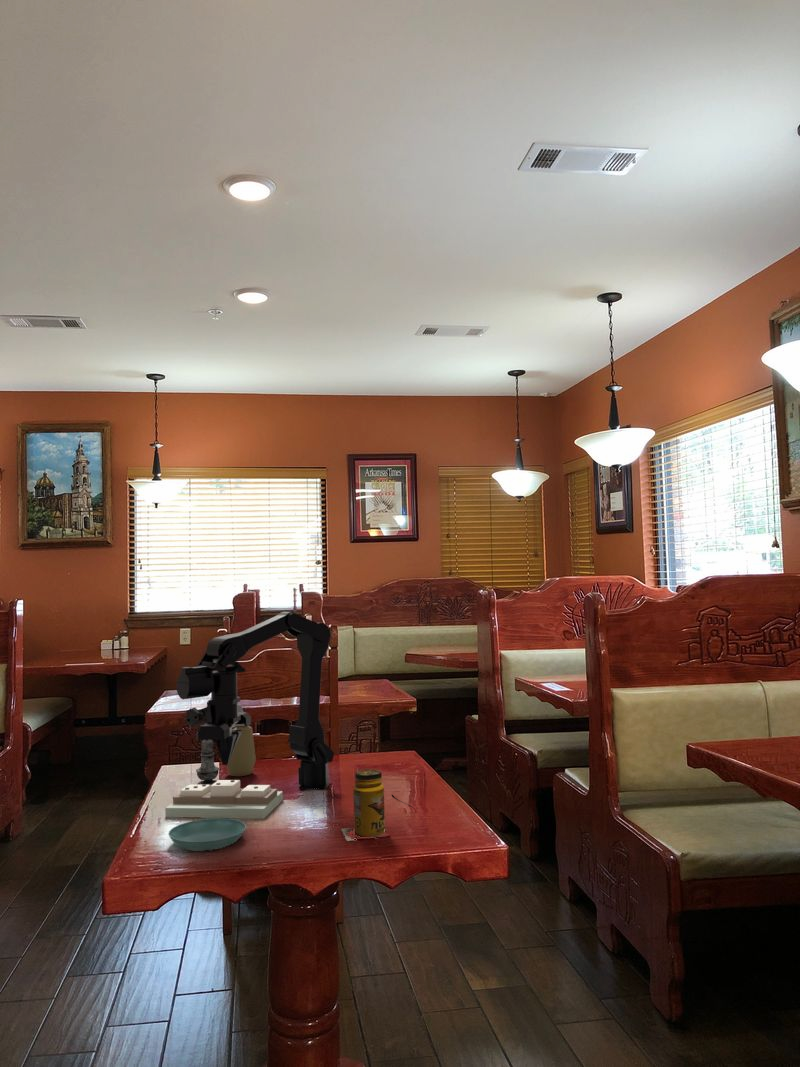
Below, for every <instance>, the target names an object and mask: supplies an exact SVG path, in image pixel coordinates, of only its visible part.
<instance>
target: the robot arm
mask: <svg viewBox="0 0 800 1067" xmlns="http://www.w3.org/2000/svg"><path fill="white" fill-rule="evenodd" d="M285 632H287V633H288V634H289V635H291V636H292V637H294V638H296V647H297V650H298V652H299V654H300V657H301V671H300V672H301V673H300V687H299V688H300V689H299V690H300V691H299V704H298V707H299V708H298V718H297V720H296V722H295V724H294V725H293V724H290V725H289V726H288V727H289V728H288V732H289V733H288V734H289V736H288V740H287V743H289V748H290V749H291V751H292V752H293V754H294V757H295V758H296V760H297V761H300V765H299V767H298V768H297V769H298V773H297V774H298V785H299V786H298V789H299V790H326V789H327V788H328V786H330V784H331V783H332V782H331V780H329V779H330V777H329V774H330V773H329V772H330V771H329V763H331V762H333V761H334V755H335V752H334V751H333V750H332V749H331V748H330V747H329V746H328V744H326V742H325V741H326V740H325V731H324V729H323V726H322V724H321V723H322V722H321V721H320V705H321V704H320V702H321V701H320V700H321V687H322V683H321V682H322V668H323V667H322V666H323V658H324V656H325V655H326V653H327V652H328V650H329V646H330V643H331V642H330V641H331V636H332V633H331V629H330V628H329V626H328V625H327V624H326V623H324V622H316V621H314V620H312V619H308V618H306V617H304V616H302V615H299V614H297V613H296V612H293V611H282V612H280V613H279V614H277V615H274V616H273V617H270V618H269V619H266V620H264V621H261V622H260V623H258V624H255V625H254V626H251V627H250V628H246V629H245V630H243V631H239V632H236V633H230V634H229V633H228V634H225V635H221V636H216V637H213V638H211V640H209V641H208V644H207V646H206V651H205V652H204V653H203V656H202V657H201V659H200V661H199V662H198V663H197V665H196V666H192V667H191V666H190V667H189V666H188V667H187V666H184V667H183V666H182V667H181V668H180V670H181V671H180V673H179V675H178V677H177V681H176V684H175V686H176V693H177V695H178V697H179V698H180V700H190V699H197V698H204V697H208V696H210V697H211V698H210V699H208V700H207V702H206V707H203V708H200V709H198V708H196V707H192V708H189V709H187V710H186V711H185V715H184V719H183V720H184V723H185V724H188V726H189V729H193V728H195V727H197V726H199V725H200V726H199V727H198V728H197V729H196V731H195V732H196V740H198V741H199V740H200V741H203V740H212V741H213V743H215V745H216V748H217V751H218V754H219V758H220V760H221V763H222V765H223V766H226V765H228V764H229V761H230V759H231V756H232V754H233V751H234V749H235V747H236V744H237V742H238V740H239V737H240V735H241V733H242V731H243V730H237V727H235V725H236V724H244V725H245V726H250V725H252V716H251V715H250V713H249V712H248V711H247V712H246V711H245V712H244V711H243V712H238V705H239V704H238V703H240V702H241V696H238V673H243V672H244V673H245V672H246V671H247V670H246V668H245V667H244V666H242V665H241V664H240V661H239V660H241V659H242V658H243V657H245V656H246V655H247V653H249V651H250V650H251V649H253V648H254V647H256V646H258V645H260V644H263V643H265V642H266V641H268V640H271V639H272V638H274V637H276V636H279V635H280V634H282V633H285ZM203 723H205V724H203ZM201 724H202V725H201Z"/></svg>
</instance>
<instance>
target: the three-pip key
mask: <svg viewBox="0 0 800 1067" xmlns="http://www.w3.org/2000/svg"><path fill="white" fill-rule="evenodd" d="M210 791H211V785H205V784H204V785H197V784H188V785H186V786H185V787H184V788H182V789H180V792H179V793H180V796H204V795H206V794H207V793H209V792H210Z"/></svg>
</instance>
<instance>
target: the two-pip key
mask: <svg viewBox="0 0 800 1067" xmlns="http://www.w3.org/2000/svg"><path fill="white" fill-rule="evenodd" d="M216 781H217V782H215V783H214V784H212V785H211V796H220V797H234V796H235V795H236V794H238V793H239V792H240V789H241V780H240V779H218V780H216Z"/></svg>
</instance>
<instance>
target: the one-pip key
mask: <svg viewBox="0 0 800 1067" xmlns="http://www.w3.org/2000/svg"><path fill="white" fill-rule="evenodd" d="M242 789H243V790H242V791H241V797H265V796H266V795H267V794H268V793H270V789H271V784H248V785H247V786H246V787H244V788H242Z"/></svg>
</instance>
